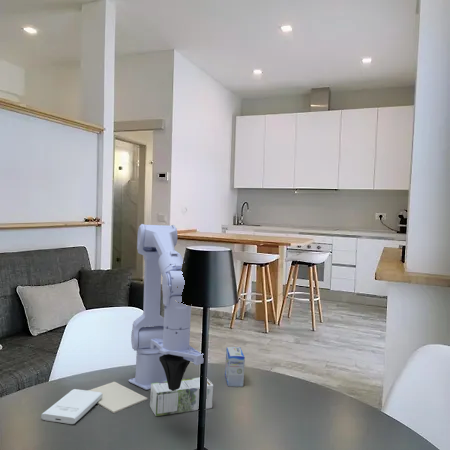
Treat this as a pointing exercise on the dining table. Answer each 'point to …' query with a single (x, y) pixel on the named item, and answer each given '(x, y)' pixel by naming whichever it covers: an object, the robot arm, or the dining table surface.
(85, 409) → the external hard drive
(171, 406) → the syrup box
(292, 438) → the dining table surface
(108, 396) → the mat
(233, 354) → the medicine box
